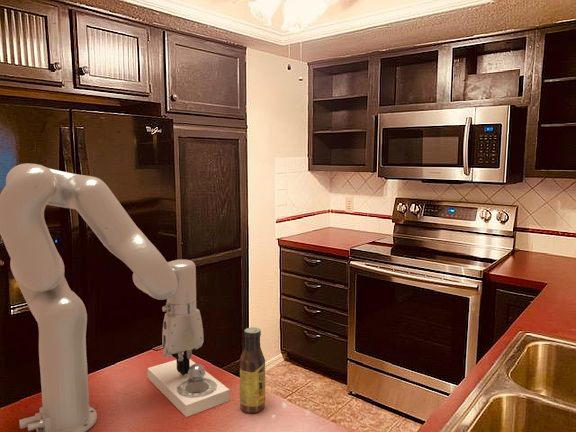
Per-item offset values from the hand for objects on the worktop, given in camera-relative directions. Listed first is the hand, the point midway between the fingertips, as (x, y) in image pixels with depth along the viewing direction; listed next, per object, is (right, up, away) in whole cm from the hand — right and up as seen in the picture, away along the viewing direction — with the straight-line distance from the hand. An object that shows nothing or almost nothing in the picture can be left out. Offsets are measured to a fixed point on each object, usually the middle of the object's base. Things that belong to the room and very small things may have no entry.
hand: (183, 372), depth 122 cm
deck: (+1, -4, -1) cm, 4 cm away
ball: (+4, +1, -3) cm, 5 cm away
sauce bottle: (+19, -6, -9) cm, 22 cm away
